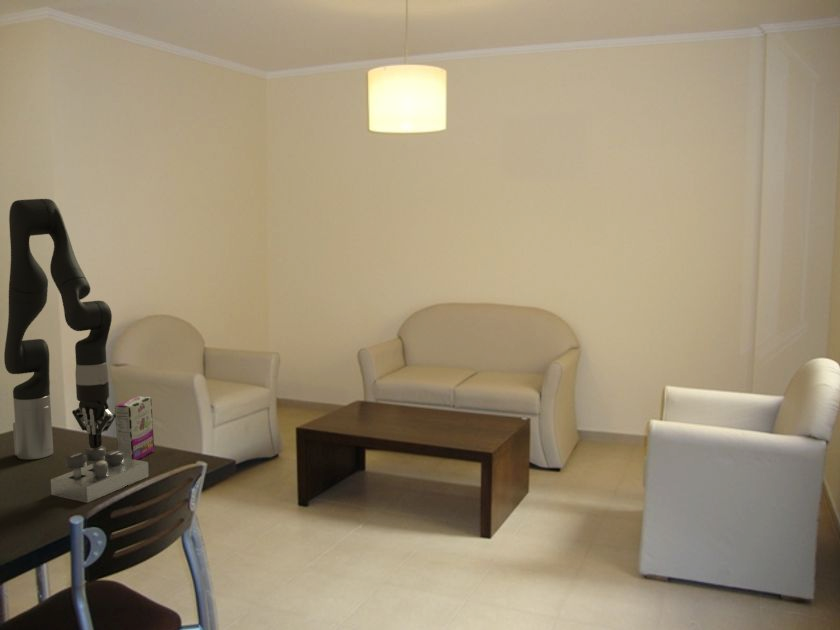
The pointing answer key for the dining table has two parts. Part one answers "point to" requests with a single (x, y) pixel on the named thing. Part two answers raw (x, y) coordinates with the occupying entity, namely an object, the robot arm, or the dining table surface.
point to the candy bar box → (135, 427)
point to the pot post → (101, 469)
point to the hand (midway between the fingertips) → (95, 447)
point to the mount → (99, 481)
